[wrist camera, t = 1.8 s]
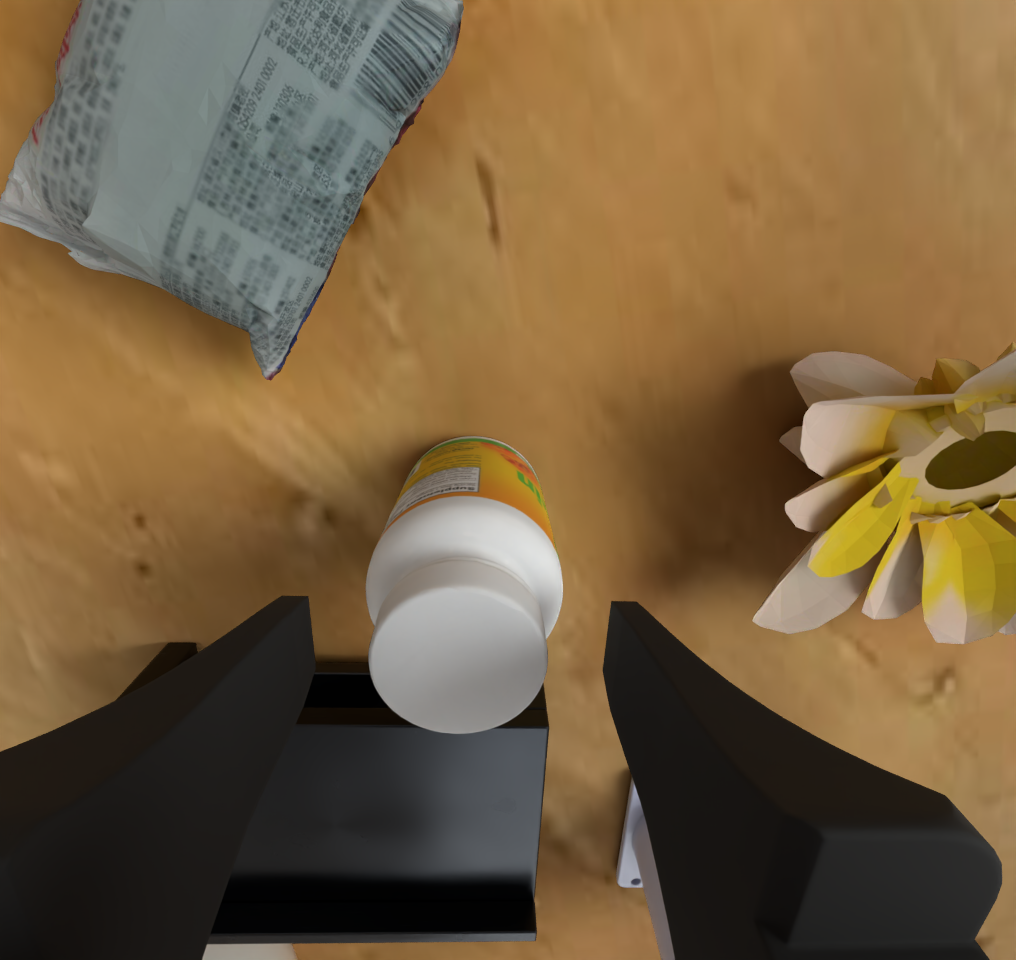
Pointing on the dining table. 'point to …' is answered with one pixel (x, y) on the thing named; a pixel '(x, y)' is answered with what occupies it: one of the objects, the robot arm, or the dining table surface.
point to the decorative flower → (904, 496)
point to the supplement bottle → (464, 589)
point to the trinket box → (249, 952)
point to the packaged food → (225, 144)
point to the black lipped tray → (386, 824)
